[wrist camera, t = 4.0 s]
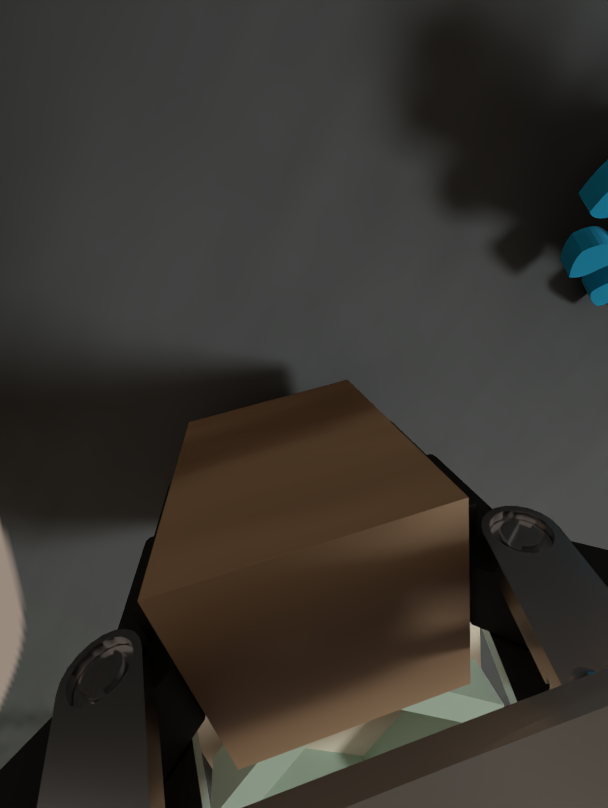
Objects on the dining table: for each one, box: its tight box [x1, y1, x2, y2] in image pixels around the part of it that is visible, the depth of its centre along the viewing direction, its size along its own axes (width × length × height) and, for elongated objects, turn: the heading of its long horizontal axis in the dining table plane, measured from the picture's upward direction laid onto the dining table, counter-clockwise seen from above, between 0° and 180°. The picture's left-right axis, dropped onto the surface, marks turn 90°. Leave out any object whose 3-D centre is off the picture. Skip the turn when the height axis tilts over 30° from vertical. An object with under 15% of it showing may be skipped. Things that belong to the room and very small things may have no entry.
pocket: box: [211, 658, 504, 808], centre depth 16 cm, size 10×10×2 cm
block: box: [138, 380, 471, 770], centre depth 9 cm, size 5×5×6 cm
